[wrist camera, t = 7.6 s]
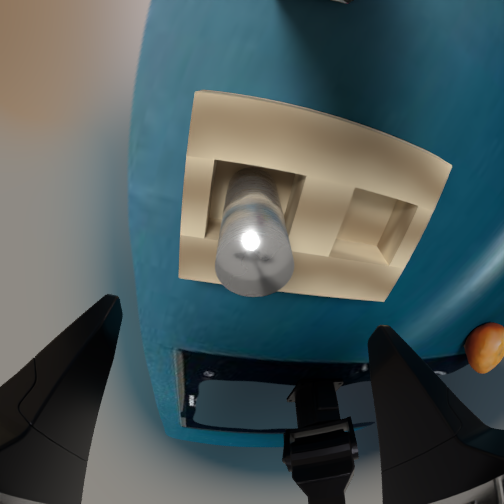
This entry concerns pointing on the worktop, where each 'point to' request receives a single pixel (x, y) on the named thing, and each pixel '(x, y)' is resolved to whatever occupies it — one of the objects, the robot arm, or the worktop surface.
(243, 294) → the pin
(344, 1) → the candy bar box
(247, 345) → the worktop surface
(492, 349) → the fruit
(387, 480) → the robot arm
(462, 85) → the worktop surface
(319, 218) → the socket block
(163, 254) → the worktop surface
